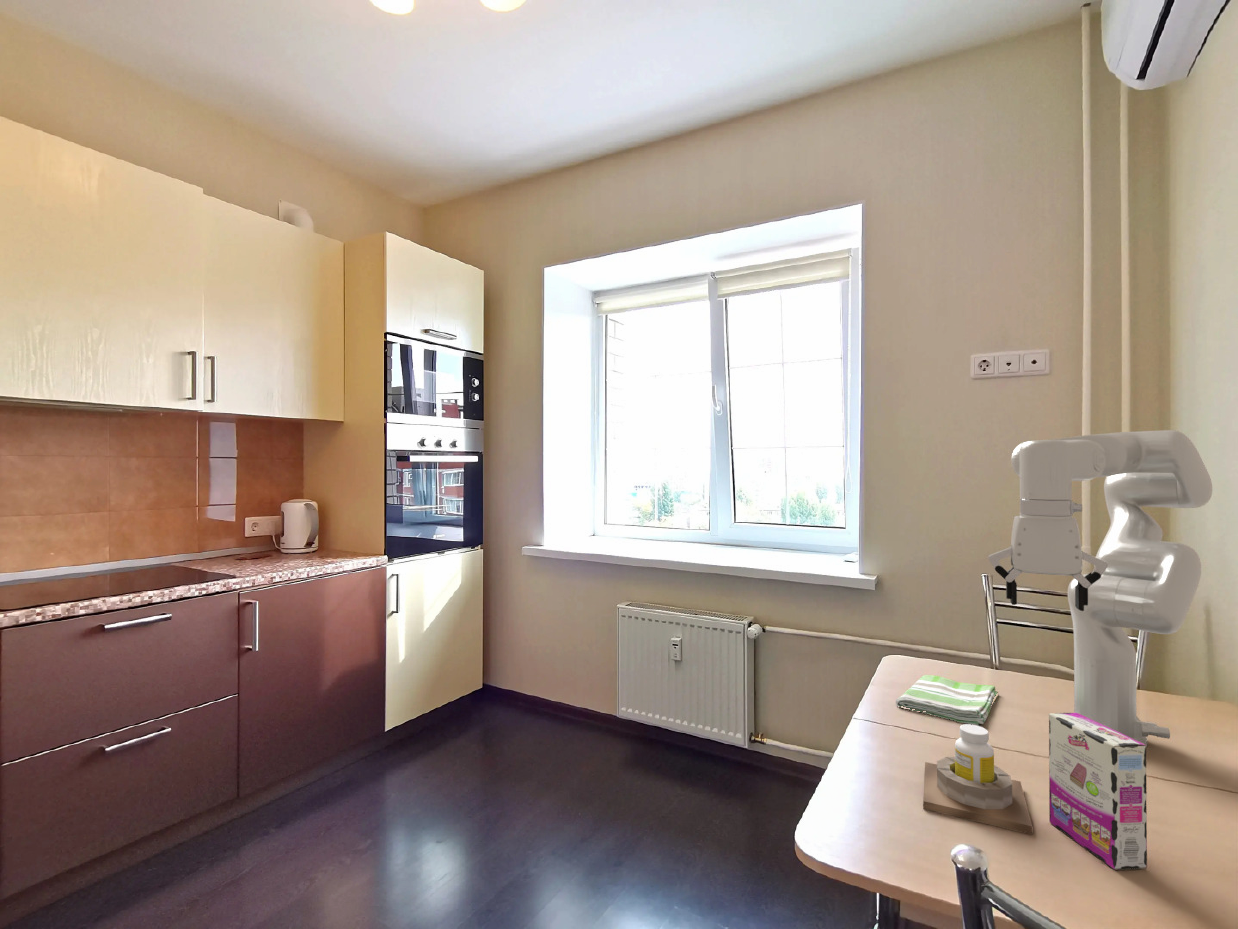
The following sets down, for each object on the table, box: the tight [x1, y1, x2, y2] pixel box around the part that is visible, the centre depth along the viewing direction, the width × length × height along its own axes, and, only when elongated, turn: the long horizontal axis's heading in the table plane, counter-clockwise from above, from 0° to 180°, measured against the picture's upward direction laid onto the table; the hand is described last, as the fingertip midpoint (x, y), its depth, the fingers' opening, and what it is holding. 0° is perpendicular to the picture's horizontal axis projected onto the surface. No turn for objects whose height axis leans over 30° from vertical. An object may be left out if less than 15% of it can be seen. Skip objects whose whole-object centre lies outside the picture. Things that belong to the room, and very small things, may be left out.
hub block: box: [922, 756, 1033, 835], centre depth 96 cm, size 14×14×4 cm
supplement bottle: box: [954, 723, 995, 783], centre depth 96 cm, size 5×5×10 cm
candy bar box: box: [1048, 712, 1148, 871], centre depth 84 cm, size 11×5×16 cm, turn 5°
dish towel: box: [895, 674, 999, 727], centre depth 136 cm, size 17×23×4 cm
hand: (1045, 606), depth 106 cm, fingers open, 9 cm apart
